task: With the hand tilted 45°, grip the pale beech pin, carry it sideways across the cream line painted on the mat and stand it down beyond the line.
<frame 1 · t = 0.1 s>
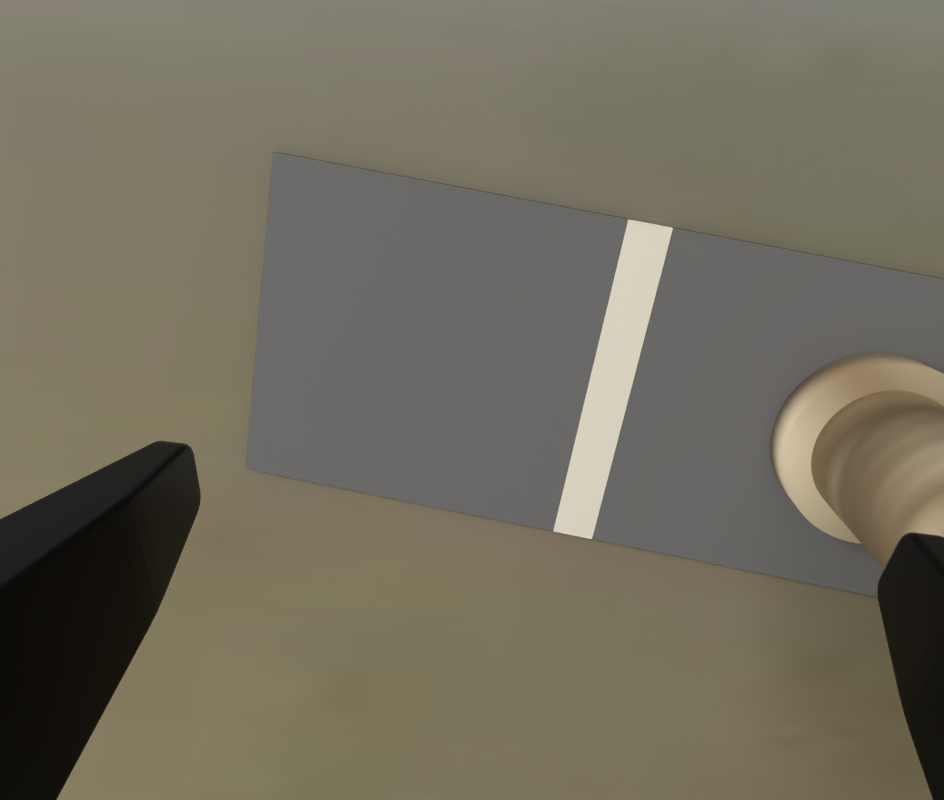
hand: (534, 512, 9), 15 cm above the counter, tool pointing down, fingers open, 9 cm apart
beech pin: (864, 440, 24), resting on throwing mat
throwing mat: (608, 387, 25), on the counter
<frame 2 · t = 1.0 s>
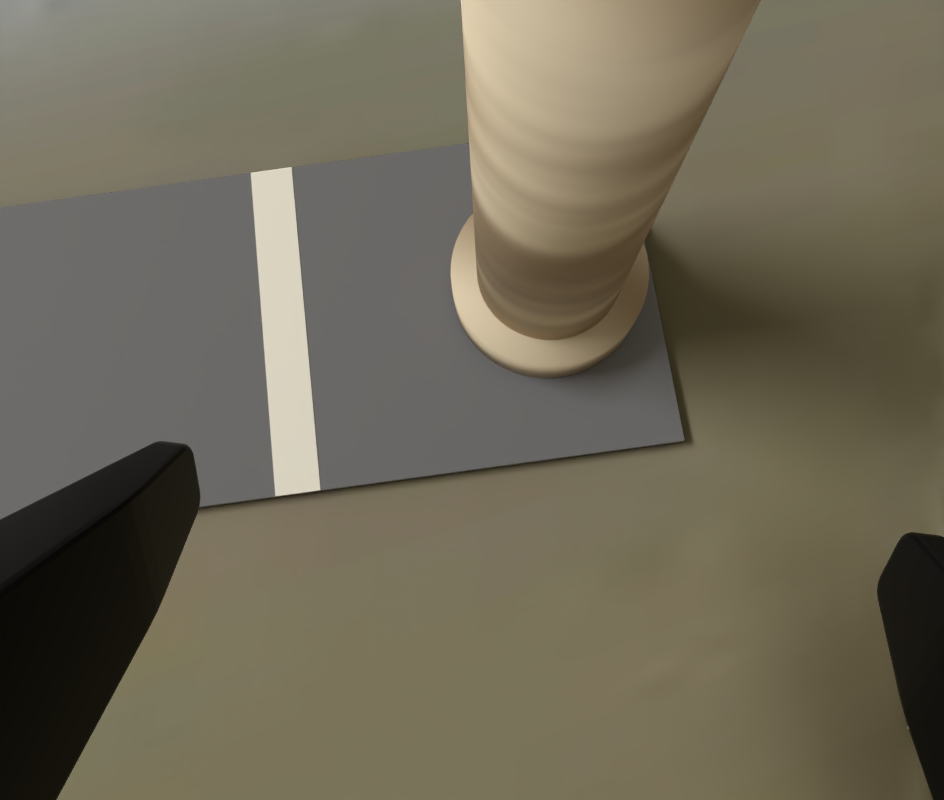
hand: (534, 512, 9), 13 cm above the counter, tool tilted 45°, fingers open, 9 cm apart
beech pin: (545, 288, 24), resting on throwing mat
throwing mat: (286, 326, 24), on the counter
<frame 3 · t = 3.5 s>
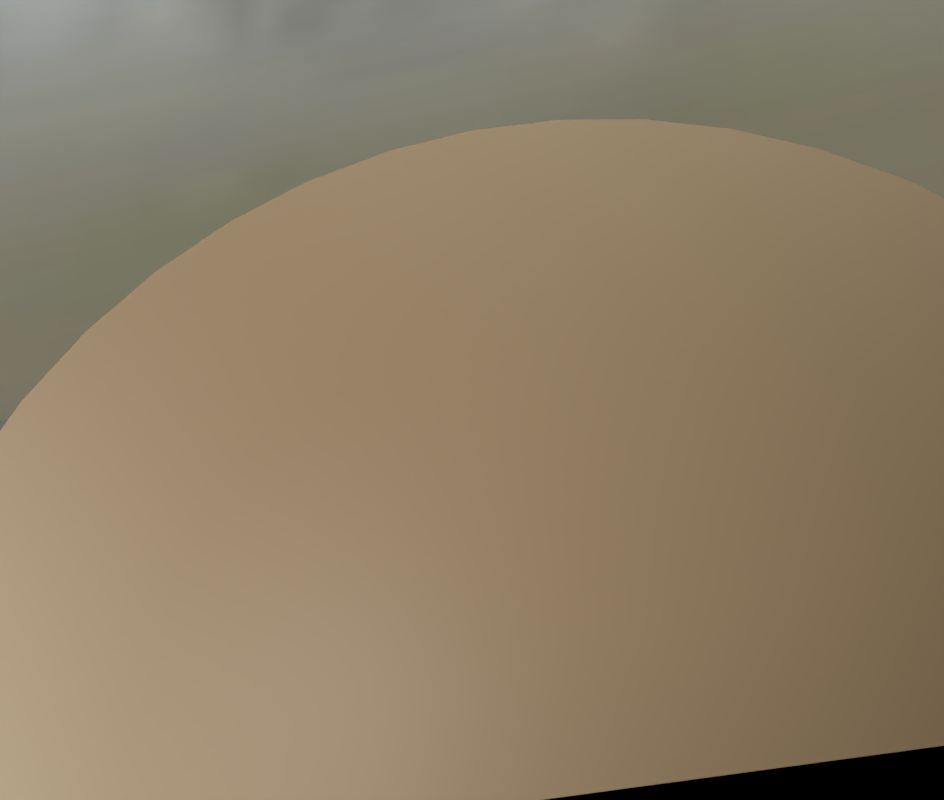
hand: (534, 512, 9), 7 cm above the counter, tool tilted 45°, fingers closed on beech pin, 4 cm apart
beech pin: (510, 598, 16), resting on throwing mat, touching gripper
when the fingers open (8 cm above the counter, at t = 7.7 s): beech pin drops 1 cm, resting on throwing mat.
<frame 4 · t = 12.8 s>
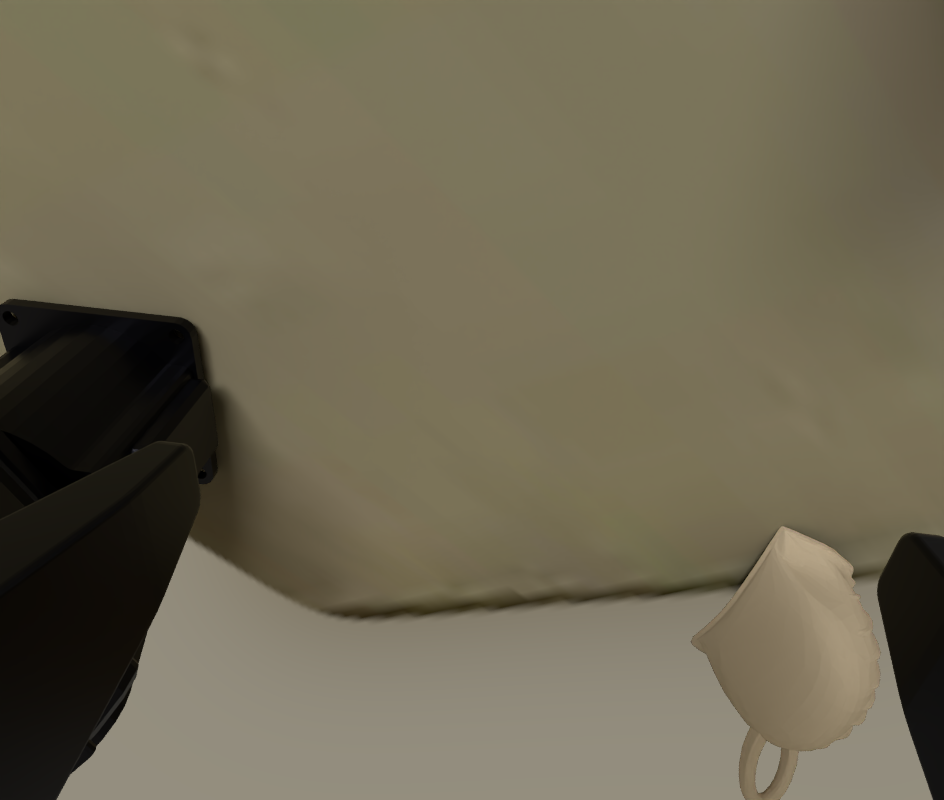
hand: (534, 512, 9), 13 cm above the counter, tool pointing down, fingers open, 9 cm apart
decorative ornament: (765, 606, 28), on the counter
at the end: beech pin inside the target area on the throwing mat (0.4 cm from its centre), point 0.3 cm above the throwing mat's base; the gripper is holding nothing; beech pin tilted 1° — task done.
